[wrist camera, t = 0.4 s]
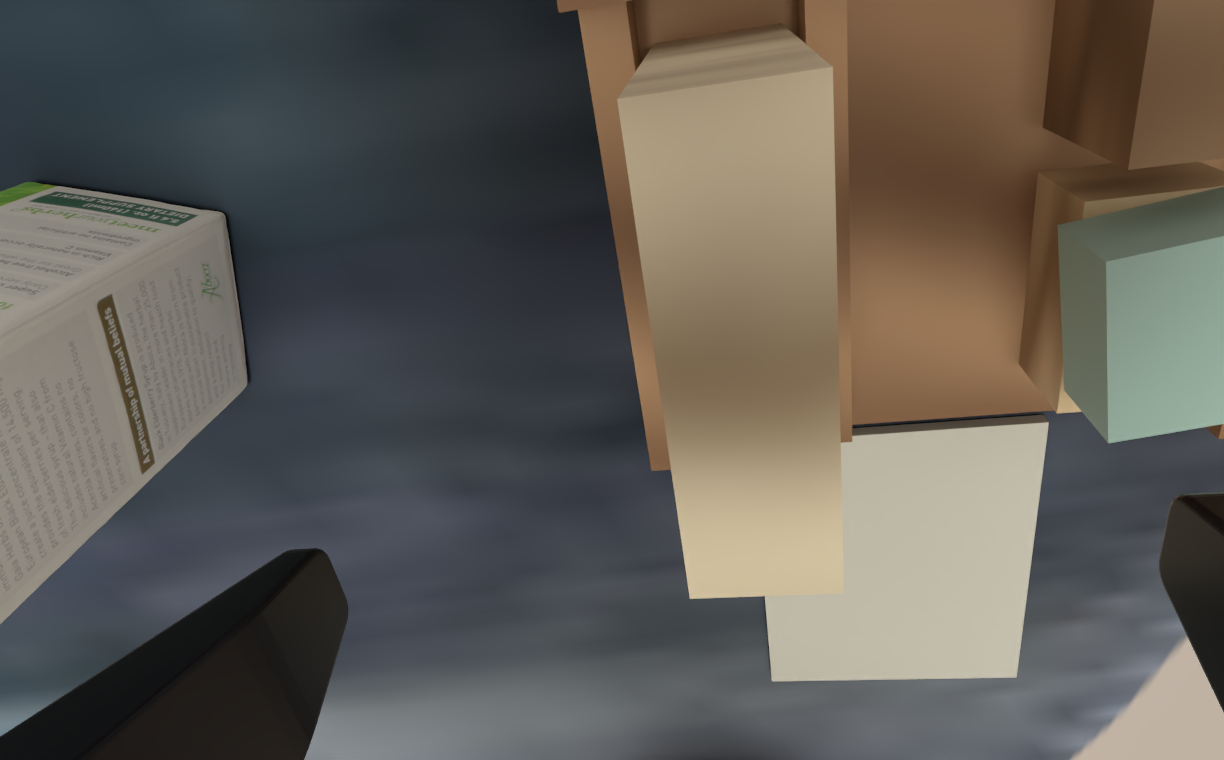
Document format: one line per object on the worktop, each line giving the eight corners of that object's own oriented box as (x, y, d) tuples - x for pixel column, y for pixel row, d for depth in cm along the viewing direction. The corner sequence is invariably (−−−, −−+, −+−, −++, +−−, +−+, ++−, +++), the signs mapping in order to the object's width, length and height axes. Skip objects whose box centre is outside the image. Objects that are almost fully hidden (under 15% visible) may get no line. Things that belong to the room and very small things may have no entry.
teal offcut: (1213, 362, 17) (1278, 414, 15) (1064, 390, 17) (1107, 443, 15) (1223, 186, 15) (1299, 219, 13) (1057, 225, 16) (1106, 261, 14)
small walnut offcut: (1191, 107, 17) (1319, 147, 13) (1042, 127, 17) (1127, 169, 14) (1220, -48, 15) (1371, -51, 12) (1057, -22, 16) (1157, -17, 12)
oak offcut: (1145, 353, 19) (1201, 403, 17) (1018, 364, 20) (1056, 413, 18) (1182, 154, 17) (1251, 182, 15) (1038, 172, 18) (1084, 201, 15)
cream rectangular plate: (1012, 667, 26) (1016, 677, 25) (771, 672, 27) (771, 681, 27) (1043, 414, 21) (1048, 422, 21) (750, 435, 23) (751, 442, 22)
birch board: (798, 382, 21) (844, 593, 14) (696, 390, 21) (689, 598, 14) (781, 23, 17) (833, 67, 10) (654, 43, 17) (617, 99, 10)
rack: (1207, 387, 20) (1282, 450, 18) (648, 428, 23) (640, 489, 20) (1341, -186, 14) (1480, -219, 12) (573, -44, 17) (549, -46, 14)
